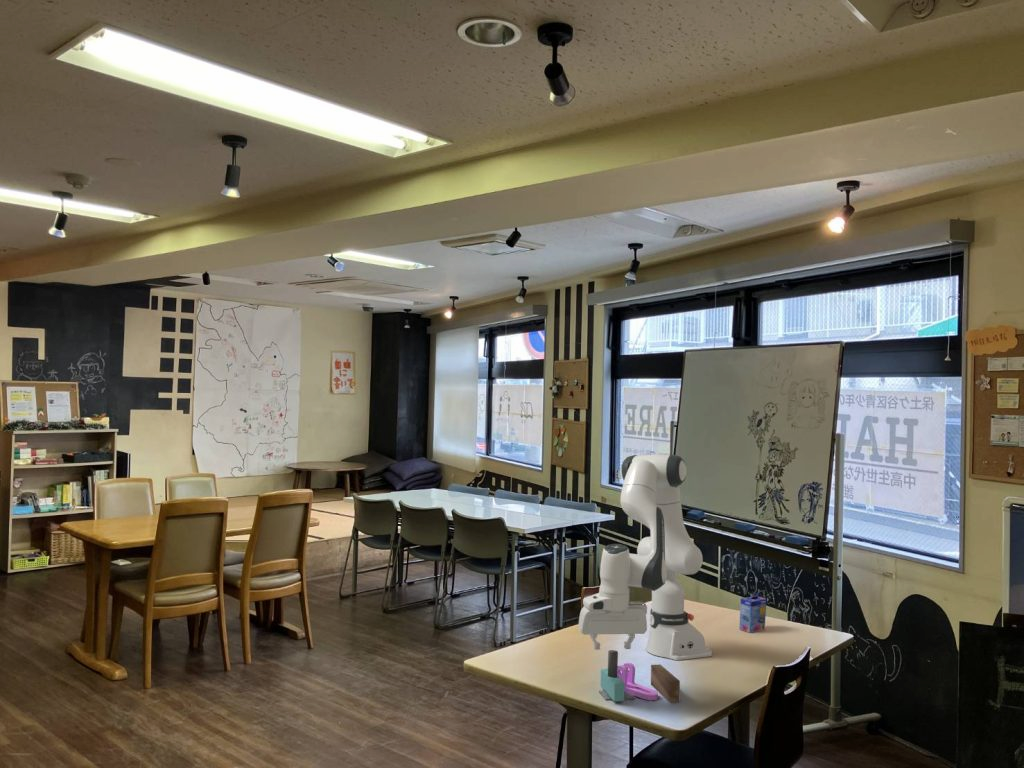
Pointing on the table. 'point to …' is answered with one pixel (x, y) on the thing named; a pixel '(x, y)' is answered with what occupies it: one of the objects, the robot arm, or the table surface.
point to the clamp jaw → (612, 678)
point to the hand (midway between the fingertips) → (612, 648)
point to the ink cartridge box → (752, 613)
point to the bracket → (631, 686)
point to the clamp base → (658, 685)
